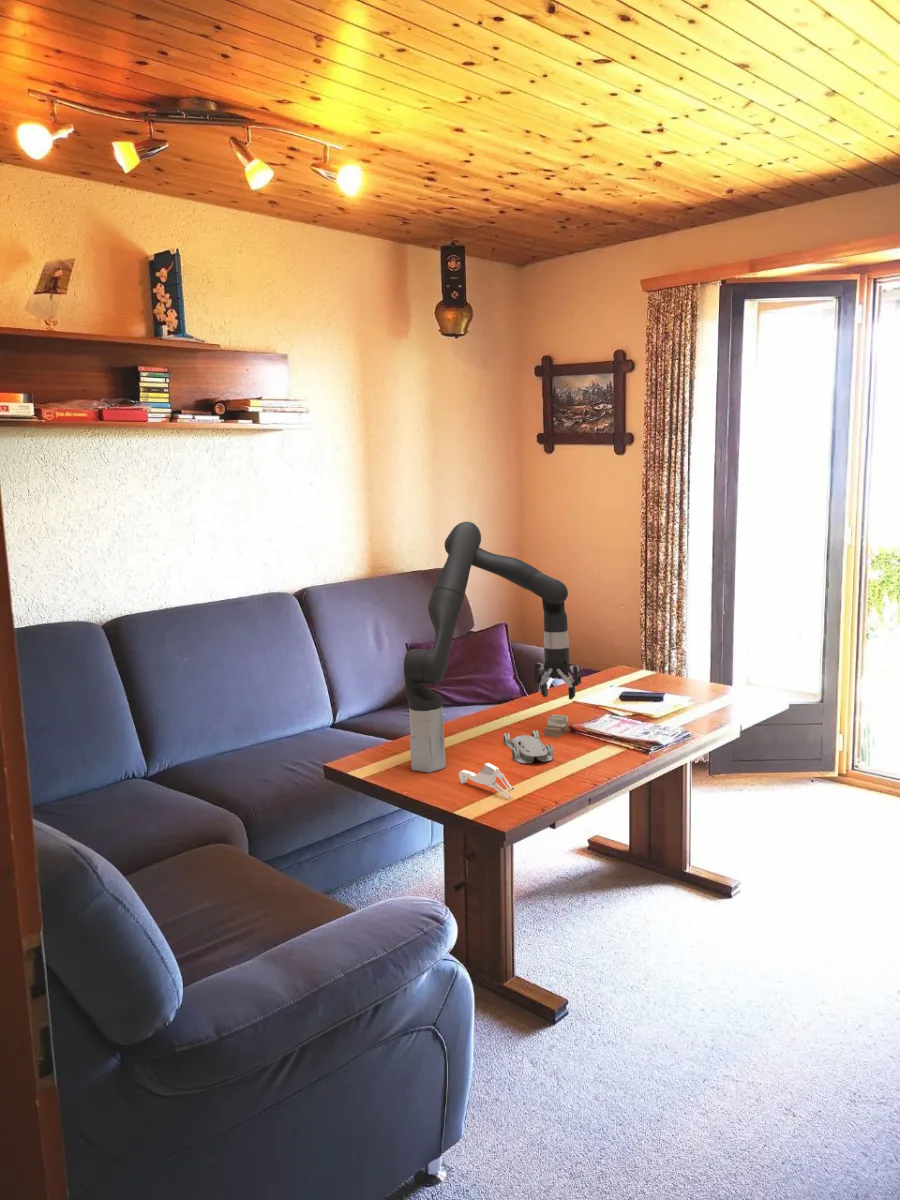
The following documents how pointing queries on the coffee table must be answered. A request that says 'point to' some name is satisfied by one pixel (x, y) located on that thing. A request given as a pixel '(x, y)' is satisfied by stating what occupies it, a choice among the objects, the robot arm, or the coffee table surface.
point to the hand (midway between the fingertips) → (558, 697)
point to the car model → (528, 748)
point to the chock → (556, 726)
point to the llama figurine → (486, 778)
